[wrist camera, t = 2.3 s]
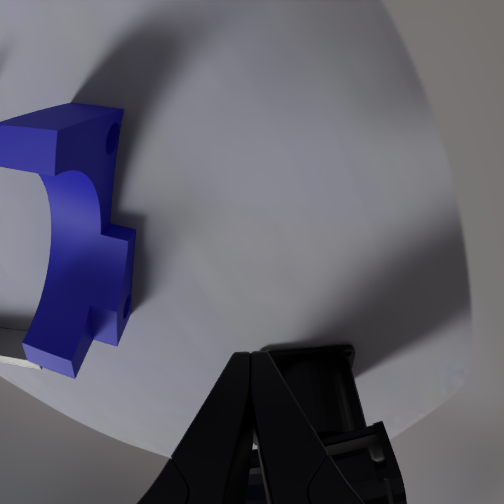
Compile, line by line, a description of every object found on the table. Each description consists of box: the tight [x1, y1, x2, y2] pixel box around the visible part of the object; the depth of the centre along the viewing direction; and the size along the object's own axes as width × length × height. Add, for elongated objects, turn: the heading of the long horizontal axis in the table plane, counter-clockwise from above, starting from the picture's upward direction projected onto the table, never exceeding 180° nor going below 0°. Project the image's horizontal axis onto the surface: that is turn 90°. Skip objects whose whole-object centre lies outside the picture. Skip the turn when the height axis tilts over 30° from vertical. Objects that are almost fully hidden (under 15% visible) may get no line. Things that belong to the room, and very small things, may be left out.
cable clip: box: [0, 103, 136, 379], centre depth 13 cm, size 12×4×6 cm, turn 165°
